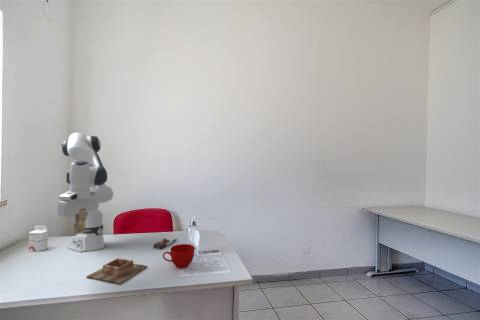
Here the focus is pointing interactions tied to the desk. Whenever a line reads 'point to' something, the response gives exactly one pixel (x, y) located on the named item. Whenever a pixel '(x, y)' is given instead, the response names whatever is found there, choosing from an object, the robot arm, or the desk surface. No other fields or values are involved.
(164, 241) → the walkie-talkie
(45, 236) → the ink cartridge box
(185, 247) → the ceramic cup
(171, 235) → the desk surface
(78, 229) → the wooden peg
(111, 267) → the wooden peg socket board
